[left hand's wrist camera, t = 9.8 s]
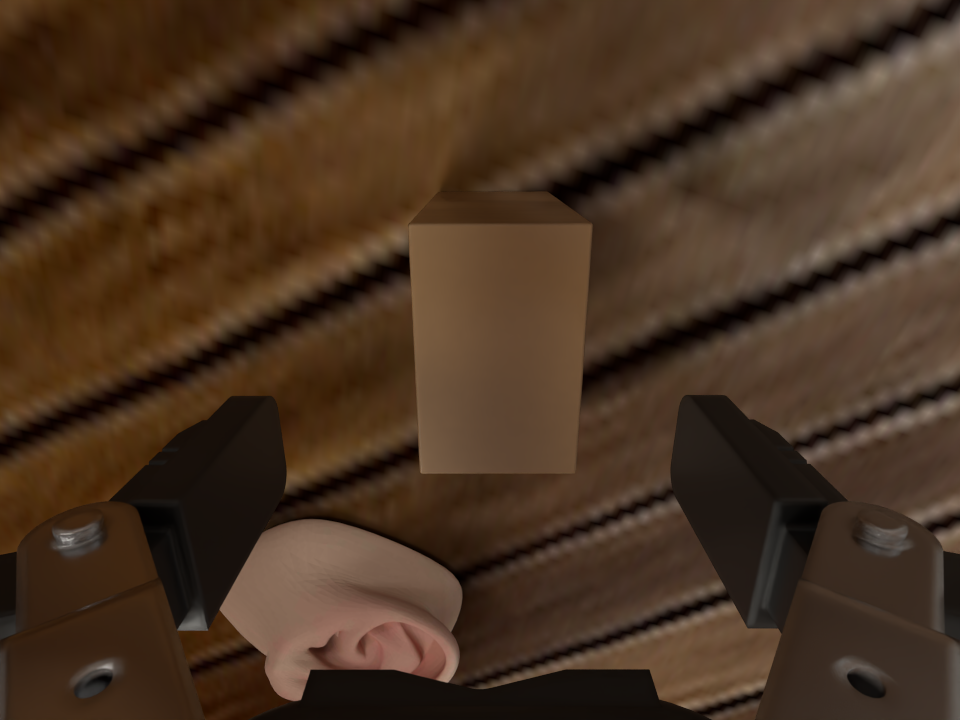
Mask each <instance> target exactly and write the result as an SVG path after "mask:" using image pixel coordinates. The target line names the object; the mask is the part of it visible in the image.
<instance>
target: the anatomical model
mask: <svg viewBox="0 0 960 720" xmlns="http://www.w3.org/2000/svg"><path fill="white" fill-rule="evenodd" d="M461 604H462V589H461V586H460V584H459V581H458V580H457V579H456V578H455V576H454V575H453V574H452V573H451V572H450V571H448V570H447V569H446V568H445V567H443V566H441V565H440V564H438V563H437V562H435V561H433V560H432V559H430V558H428V557H426V556H424V555H422V554H420V553H418V552H416V551H414V550H412V549H410V548H407V547H405V546H403V545H401V544H399V543H396V542H394V541H391V540H389V539H386V538H384V537H381V536H379V535H376V534H374V533H371V532H368V531H365V530H362V529H359V528H356V527H353V526H349V525H346V524H342V523H338V522H333V521H328V520H321V519H302V520H296V521H291V522H288V523H284V524H281V525H278V526H276V527H274V528H271V529H269V530H266V531H264V532H263V533H262V534H261V536H260V538H259V539H258V541H257V543H256V545H255V546H254V548H253V550H252V552H251V554H250V555H249V557H248V559H247V561H246V563H245V564H244V566H243V568H242V570H241V572H240V573H239V575H238V577H237V579H236V581H235V582H234V584H233V586H232V588H231V590H230V591H229V593H228V595H227V597H226V599H225V600H224V602H223V604H222V606H221V607H220V611H221V612H222V613H223V614H224V616H225V617H226V618H227V619H228V620H229V621H230V622H231V623H232V625H233V626H234V627H235V628H236V629H237V630H238V631H239V632H240V634H241V635H243V636H244V637H245V638H246V639H247V640H248V641H249V642H250V643H251V644H253V645H254V646H255V647H256V648H257V649H258V650H260V651H261V652H262V653H263V654H265V655H266V656H267V658H266V662H265V671H266V674H267V676H268V678H269V680H270V683H271V685H272V687H273V688H274V690H275V691H276V692H277V693H278V694H279V695H280V696H281V697H283V698H286V699H289V700H293V701H298V700H301V698H302V695H303V692H304V689H305V686H306V683H307V679H308V676H309V673H310V670H398V671H402V672H406V673H410V674H414V675H418V676H422V677H426V678H430V679H434V680H439V681H443V682H447V683H448V682H449V681H450V679H451V678H452V677H453V675H454V673H455V671H456V669H457V667H458V663H459V657H460V656H459V647H458V644H457V642H456V639H455V638H454V636H453V635H452V633H451V631H452V629H453V627H454V625H455V623H456V621H457V618H458V615H459V612H460V609H461Z"/></svg>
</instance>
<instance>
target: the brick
mask: <svg viewBox="0 0 960 720" xmlns="http://www.w3.org/2000/svg"><path fill="white" fill-rule="evenodd" d="M592 232H593V224H592V223H591V222H589V221H588V220H587V219H585V218H584V217H582V216H581V215H580V214H578V213H577V212H575V211H574V210H572V209H571V208H570V207H568V206H567V205H565V204H564V203H563V202H561V201H560V200H558V199H557V198H556V197H554V196H553V195H551V194H550V193H549V192H547V191H517V192H438V193H437V194H436V195H435V196H434V197H433V198H432V199H431V201H430V202H429V203H428V204H427V205H426V206H425V207H424V208H423V209H422V210H421V211H420V212H419V214H418V215H417V216H416V217H415V218H414V219H413V220H412V221H411V222H410V223H409V225H408V233H409V254H410V275H411V296H412V317H413V338H414V359H415V380H416V401H417V421H418V442H419V463H420V472H421V473H422V474H574V473H575V472H576V465H577V451H578V436H579V422H580V407H581V392H582V378H583V363H584V349H585V334H586V319H587V305H588V290H589V276H590V261H591V246H592Z"/></svg>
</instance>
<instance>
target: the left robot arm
mask: <svg viewBox="0 0 960 720" xmlns="http://www.w3.org/2000/svg"><path fill="white" fill-rule="evenodd" d="M671 483H672V488H673V492H674V495H675V497H676V499H677V501H678V502H679V504H680V506H681V508H682V510H683V512H684V513H685V515H686V517H687V519H688V521H689V522H690V524H691V526H692V528H693V530H694V531H695V533H696V535H697V537H698V539H699V541H700V542H701V544H702V546H703V548H704V550H705V551H706V553H707V555H708V557H709V559H710V561H711V562H712V564H713V566H714V568H715V570H716V571H717V573H718V575H719V577H720V579H721V581H722V582H723V584H724V586H725V588H726V590H727V591H728V593H729V595H730V597H731V599H732V600H733V602H734V604H735V606H736V608H737V610H738V611H739V613H740V615H741V617H742V619H743V620H744V622H745V624H746V626H747V628H778V629H779V630H780V632H781V634H782V635H781V638H780V641H779V645H778V648H777V651H776V654H775V657H774V660H773V664H772V667H771V670H770V673H769V676H768V680H767V683H766V686H765V689H764V692H763V696H762V699H761V702H760V705H759V708H758V711H757V715H756V718H755V720H960V554H956V553H951V552H946V551H943V549H942V546H941V544H940V542H939V541H938V540H937V538H936V537H935V536H934V535H933V534H932V533H931V532H930V531H929V530H927V529H926V528H925V527H923V526H922V525H920V524H919V523H917V522H916V521H914V520H912V519H910V518H908V517H906V516H904V515H902V514H900V513H898V512H895V511H893V510H890V509H887V508H884V507H881V506H877V505H873V504H868V503H863V502H854V501H848V500H847V499H845V498H844V497H843V496H842V495H841V494H840V493H839V492H838V491H837V490H836V489H835V488H834V487H833V486H832V485H831V484H830V483H829V482H828V481H827V480H826V479H825V478H824V477H823V476H822V475H821V474H820V473H819V472H818V471H817V470H816V469H815V468H814V467H813V466H812V465H811V464H807V460H806V459H804V458H803V457H802V456H801V455H800V454H799V453H798V452H797V451H794V450H793V447H792V446H791V445H790V444H789V443H788V442H787V441H786V440H785V439H784V438H783V437H782V436H781V435H780V434H779V433H778V432H776V431H774V430H772V429H770V428H769V427H767V426H765V425H763V424H761V423H759V422H757V421H756V420H749V419H748V418H747V417H746V416H745V415H744V414H743V413H742V412H741V410H740V409H739V408H738V407H737V406H736V405H735V404H734V403H733V402H732V401H731V400H730V399H729V398H728V397H727V396H725V395H686V396H684V397H683V398H682V400H681V402H680V406H679V412H678V419H677V426H676V433H675V440H674V446H673V453H672V460H671ZM285 484H286V461H285V454H284V447H283V440H282V433H281V427H280V420H279V413H278V407H277V403H276V401H275V399H274V398H273V397H272V396H231V397H230V398H229V399H228V400H227V401H226V402H225V403H224V404H223V405H222V406H221V407H220V408H219V409H218V410H217V411H216V412H215V413H214V414H213V415H212V416H211V417H210V418H209V419H208V420H203V421H201V422H199V423H197V424H195V425H193V426H191V427H190V428H188V429H186V430H184V431H182V432H180V433H178V434H177V435H176V436H175V437H174V438H173V439H172V440H171V441H170V442H169V443H168V444H167V445H166V446H165V447H164V448H163V451H162V452H159V453H158V454H157V455H156V456H155V457H154V458H153V459H152V460H151V461H149V465H145V466H144V467H143V468H142V469H141V470H140V471H139V472H138V473H137V474H136V475H135V476H134V477H133V478H132V479H131V480H130V481H129V482H128V483H127V484H126V485H125V486H124V487H123V488H122V489H121V490H119V491H118V492H117V493H116V494H115V495H114V496H113V497H112V498H111V499H110V500H109V501H106V502H97V503H92V504H87V505H83V506H79V507H76V508H73V509H70V510H67V511H65V512H62V513H60V514H58V515H56V516H54V517H52V518H50V519H48V520H46V521H44V522H43V523H41V524H40V525H38V526H37V527H35V528H34V529H33V530H31V531H30V532H29V533H28V534H27V535H26V536H25V537H24V538H23V540H22V541H21V542H20V544H19V546H18V549H17V552H13V553H8V554H3V555H0V720H205V718H204V715H203V711H202V708H201V705H200V702H199V699H198V696H197V692H196V689H195V686H194V683H193V680H192V676H191V673H190V670H189V667H188V664H187V660H186V657H185V654H184V651H183V648H182V645H181V641H180V638H179V635H178V632H177V630H208V629H209V627H210V625H211V624H212V622H213V620H214V618H215V616H216V615H217V613H218V611H219V609H220V607H221V606H222V604H223V602H224V600H225V599H226V597H227V595H228V593H229V591H230V590H231V588H232V586H233V584H234V582H235V581H236V579H237V577H238V575H239V573H240V572H241V570H242V568H243V566H244V564H245V563H246V561H247V559H248V557H249V555H250V554H251V552H252V550H253V548H254V546H255V545H256V543H257V541H258V539H259V538H260V536H261V534H262V532H263V530H264V529H265V527H266V525H267V523H268V521H269V520H270V518H271V516H272V514H273V512H274V511H275V509H276V507H277V505H278V503H279V502H280V500H281V498H282V496H283V493H284V489H285ZM249 720H711V719H709V718H707V717H705V716H703V715H701V714H698V713H696V712H694V711H692V710H689V709H687V708H684V707H681V706H678V705H675V704H672V703H669V702H666V701H662V700H659V698H658V695H657V692H656V689H655V686H654V683H653V679H652V676H651V673H650V670H562V671H558V672H554V673H550V674H546V675H542V676H538V677H534V678H530V679H526V680H521V681H517V682H513V683H509V684H505V685H501V686H497V687H493V688H488V689H472V688H467V687H463V686H459V685H455V684H451V683H447V682H443V681H439V680H434V679H430V678H426V677H422V676H418V675H414V674H410V673H406V672H402V671H398V670H310V673H309V676H308V679H307V683H306V686H305V689H304V692H303V695H302V698H301V700H298V701H294V702H291V703H288V704H285V705H282V706H279V707H276V708H273V709H271V710H268V711H266V712H264V713H262V714H259V715H257V716H255V717H253V718H251V719H249Z"/></svg>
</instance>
